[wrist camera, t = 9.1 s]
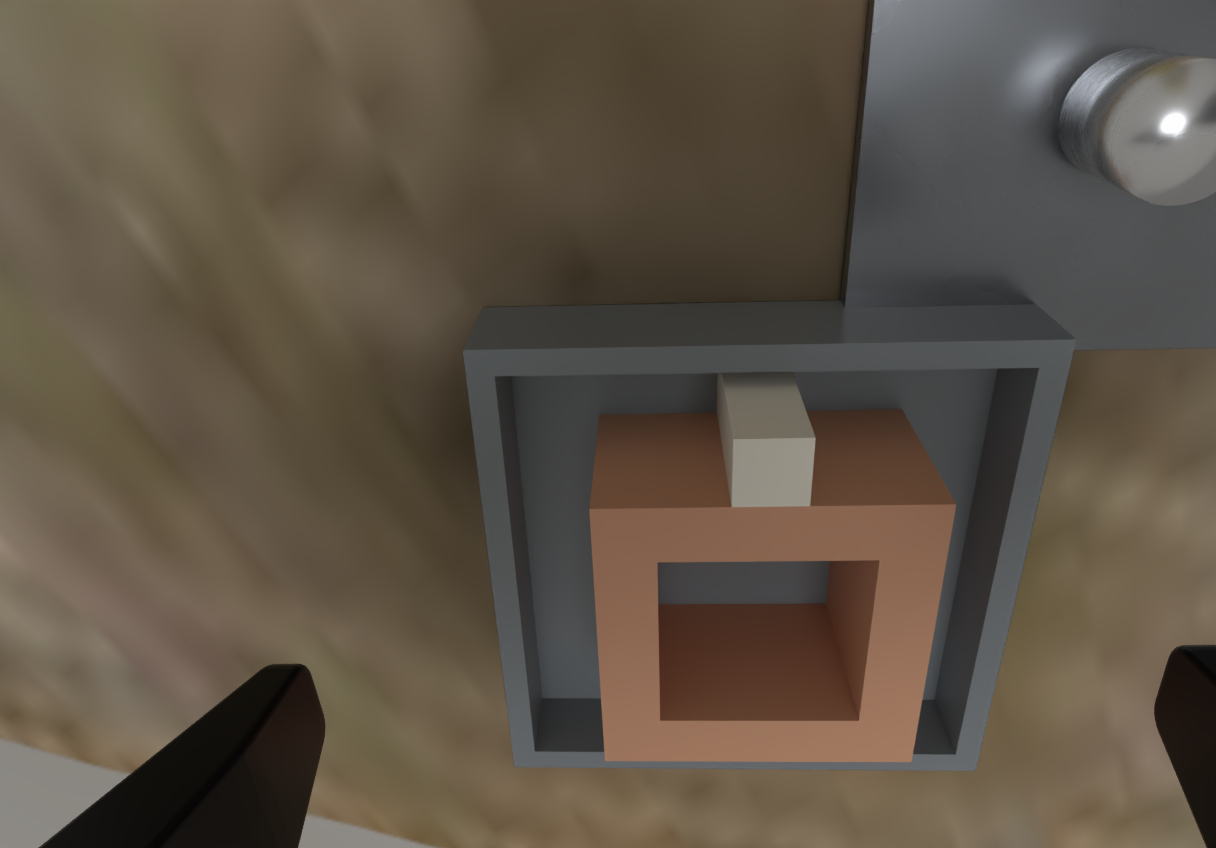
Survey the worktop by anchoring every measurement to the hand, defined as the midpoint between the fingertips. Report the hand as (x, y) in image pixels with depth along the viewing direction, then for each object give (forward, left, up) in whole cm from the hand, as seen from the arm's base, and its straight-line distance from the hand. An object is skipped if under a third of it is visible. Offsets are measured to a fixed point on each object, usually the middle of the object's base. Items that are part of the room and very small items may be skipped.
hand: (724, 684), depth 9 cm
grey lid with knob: (-8, -4, -12) cm, 15 cm away
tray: (-1, +6, -12) cm, 13 cm away
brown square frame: (-2, +6, -11) cm, 13 cm away
